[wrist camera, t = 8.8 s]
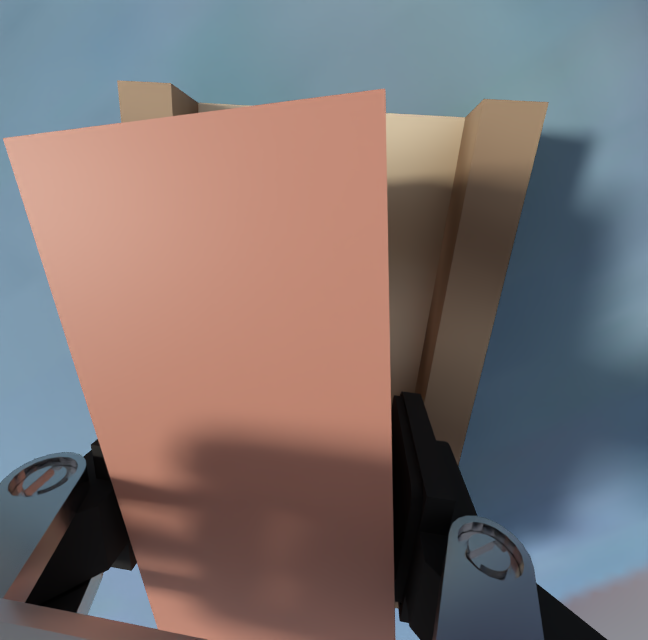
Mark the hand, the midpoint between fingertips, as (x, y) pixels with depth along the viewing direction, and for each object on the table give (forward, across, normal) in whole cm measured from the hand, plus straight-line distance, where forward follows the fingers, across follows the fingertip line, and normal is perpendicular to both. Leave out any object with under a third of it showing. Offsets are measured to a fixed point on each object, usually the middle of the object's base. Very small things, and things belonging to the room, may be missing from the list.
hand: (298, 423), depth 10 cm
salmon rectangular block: (+1, 0, 0) cm, 1 cm away
